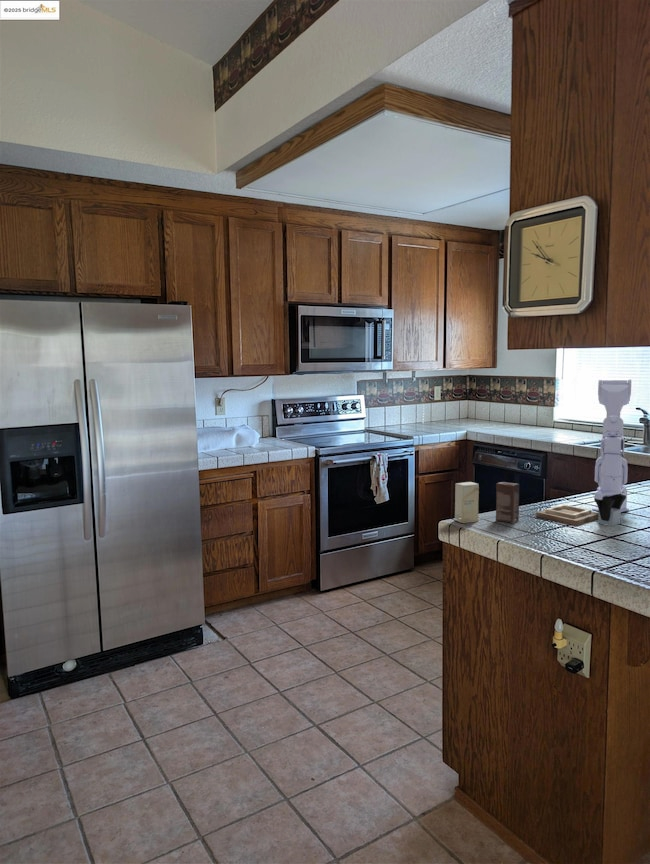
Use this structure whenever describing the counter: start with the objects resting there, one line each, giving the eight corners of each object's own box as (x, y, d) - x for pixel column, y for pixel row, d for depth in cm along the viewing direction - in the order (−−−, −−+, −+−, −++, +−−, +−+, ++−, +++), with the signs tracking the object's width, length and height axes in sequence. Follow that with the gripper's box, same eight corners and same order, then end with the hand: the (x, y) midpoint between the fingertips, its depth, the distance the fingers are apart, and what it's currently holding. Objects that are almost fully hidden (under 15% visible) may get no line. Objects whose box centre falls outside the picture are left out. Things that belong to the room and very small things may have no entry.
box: (519, 520, 193) (520, 483, 192) (512, 523, 190) (513, 485, 188) (501, 517, 197) (502, 481, 196) (494, 520, 194) (495, 483, 193)
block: (605, 520, 192) (606, 506, 191) (620, 523, 188) (620, 509, 187) (598, 523, 189) (598, 509, 188) (612, 526, 185) (613, 511, 185)
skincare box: (462, 523, 191) (463, 485, 189) (454, 520, 195) (454, 483, 193) (479, 521, 193) (479, 483, 192) (470, 518, 197) (470, 481, 196)
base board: (560, 509, 206) (561, 502, 206) (600, 517, 195) (600, 510, 195) (536, 516, 198) (536, 509, 197) (576, 525, 187) (576, 517, 186)
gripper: (610, 470, 194) (609, 512, 196) (585, 476, 186) (584, 520, 187) (632, 474, 189) (631, 516, 190) (608, 480, 180) (606, 525, 182)
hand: (609, 518), depth 188 cm, fingers closed on block, 4 cm apart
